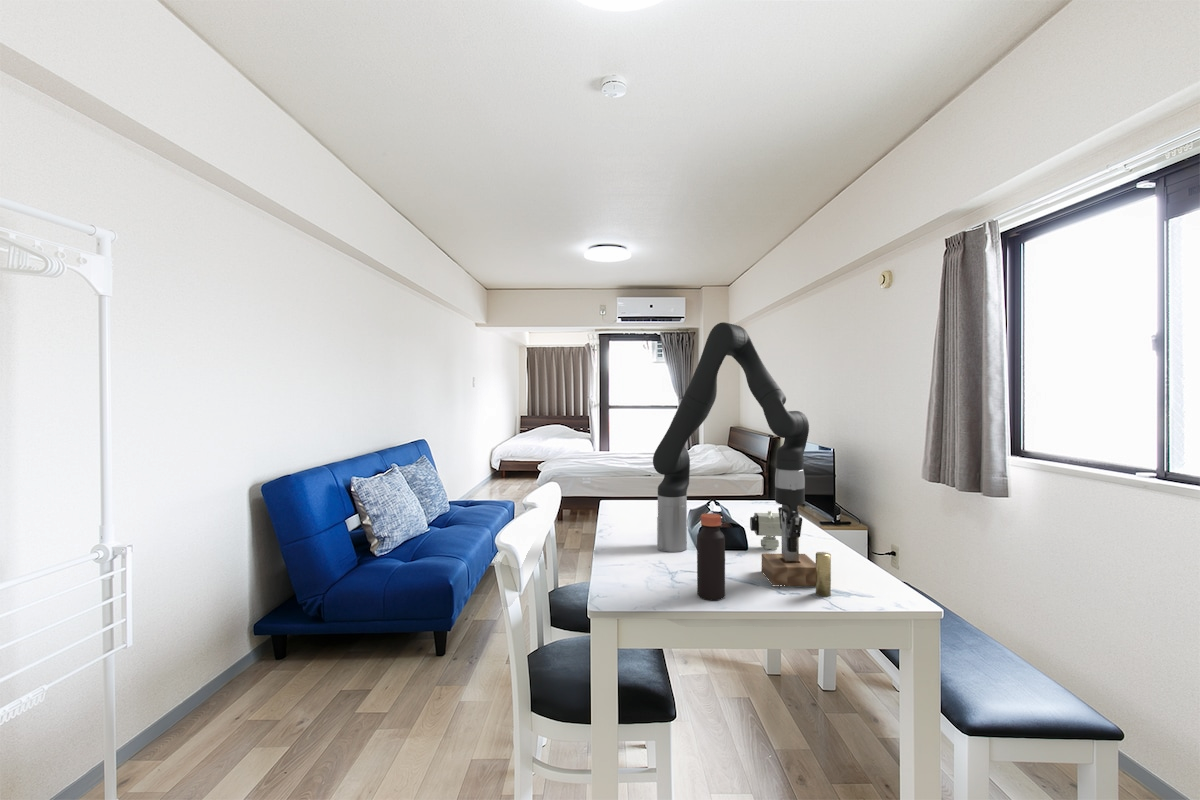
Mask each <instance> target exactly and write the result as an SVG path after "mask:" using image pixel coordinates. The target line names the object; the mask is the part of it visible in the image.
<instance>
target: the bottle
mask: <svg viewBox="0 0 1200 800" xmlns="http://www.w3.org/2000/svg"><path fill="white" fill-rule="evenodd" d="M700 526H701V528H702V529H701V530H700V531H699V532H698V533H697V535H696V579H697V580H696V581H697V582H696V584H697V585H696V586H697V587H696V592H697V593H696V594H697V597H699V598H701V599H703V600H706V601H719V600H722V599H724V598H725V596H726V537H725V534H724V533H723V532H722V531H721V529H720V528H721V526H722V515H720V514H718V513H712V512H711V513H709V512H707V513H701V515H700Z"/></svg>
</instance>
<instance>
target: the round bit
mask: <svg viewBox="0 0 1200 800" xmlns="http://www.w3.org/2000/svg"><path fill="white" fill-rule="evenodd" d="M815 563H816V587H815V595H817V596H819V597H823V598H824V597H826V598H827V597H831V594H832V590H831V588H832V586H831V585H832V578H831V577H832V576H831V575H832V574H831V573H832V564H831V563H832V554H831V553H830V552H827V551H826V552H825V551H817V552H815Z"/></svg>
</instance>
